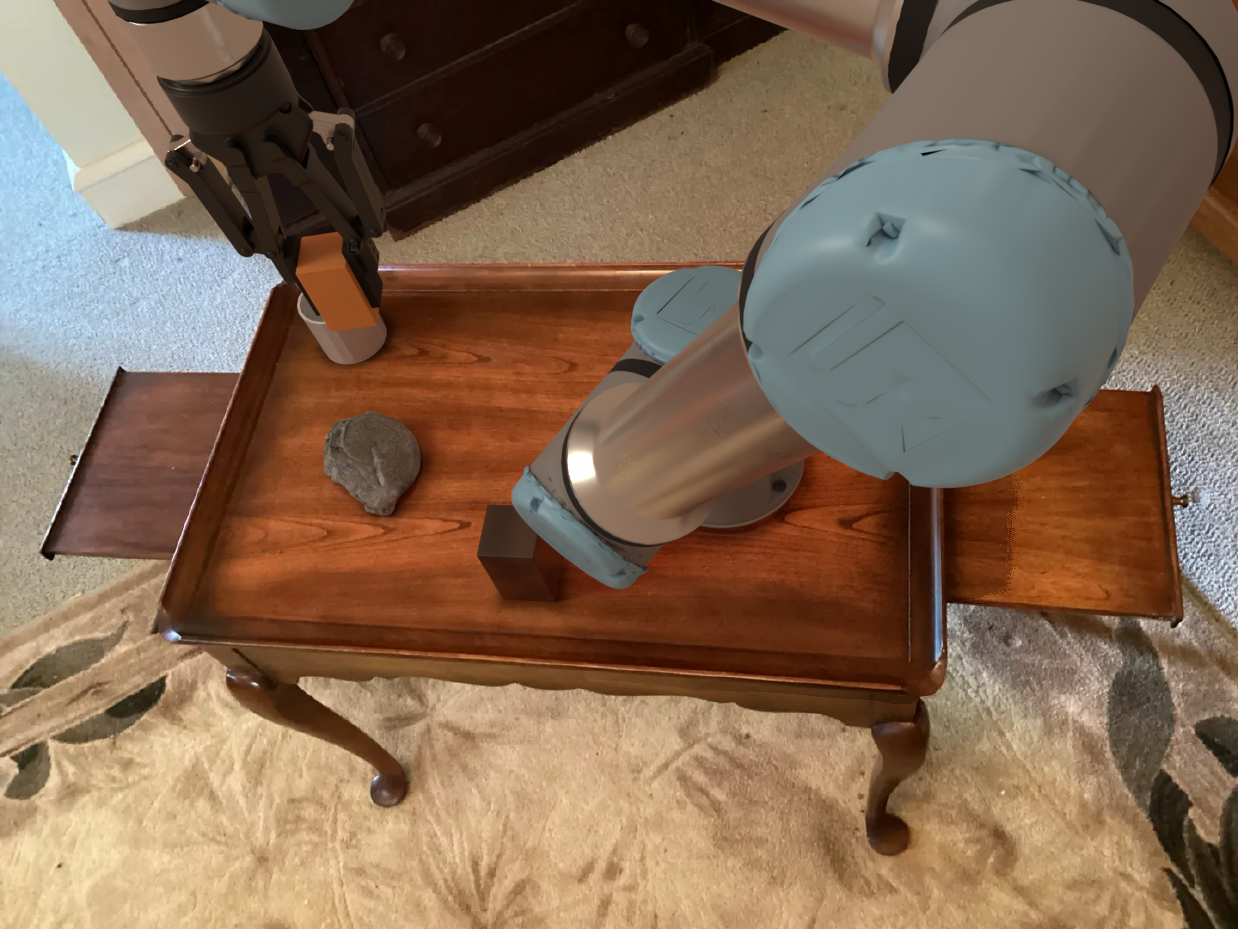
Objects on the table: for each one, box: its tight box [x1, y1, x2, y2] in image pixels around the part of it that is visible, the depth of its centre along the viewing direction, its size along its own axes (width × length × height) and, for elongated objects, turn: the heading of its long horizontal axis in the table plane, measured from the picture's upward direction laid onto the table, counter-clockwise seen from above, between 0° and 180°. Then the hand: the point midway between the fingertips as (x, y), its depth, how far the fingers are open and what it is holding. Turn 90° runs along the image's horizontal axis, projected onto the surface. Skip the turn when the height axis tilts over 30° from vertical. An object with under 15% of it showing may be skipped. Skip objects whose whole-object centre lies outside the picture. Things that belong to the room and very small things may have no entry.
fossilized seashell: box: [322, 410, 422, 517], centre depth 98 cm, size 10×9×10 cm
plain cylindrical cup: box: [296, 292, 388, 365], centre depth 106 cm, size 7×7×7 cm
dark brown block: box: [476, 503, 564, 603], centre depth 86 cm, size 5×5×9 cm
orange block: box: [296, 231, 380, 332], centre depth 78 cm, size 4×4×7 cm
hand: (349, 298), depth 80 cm, fingers closed on orange block, 4 cm apart
